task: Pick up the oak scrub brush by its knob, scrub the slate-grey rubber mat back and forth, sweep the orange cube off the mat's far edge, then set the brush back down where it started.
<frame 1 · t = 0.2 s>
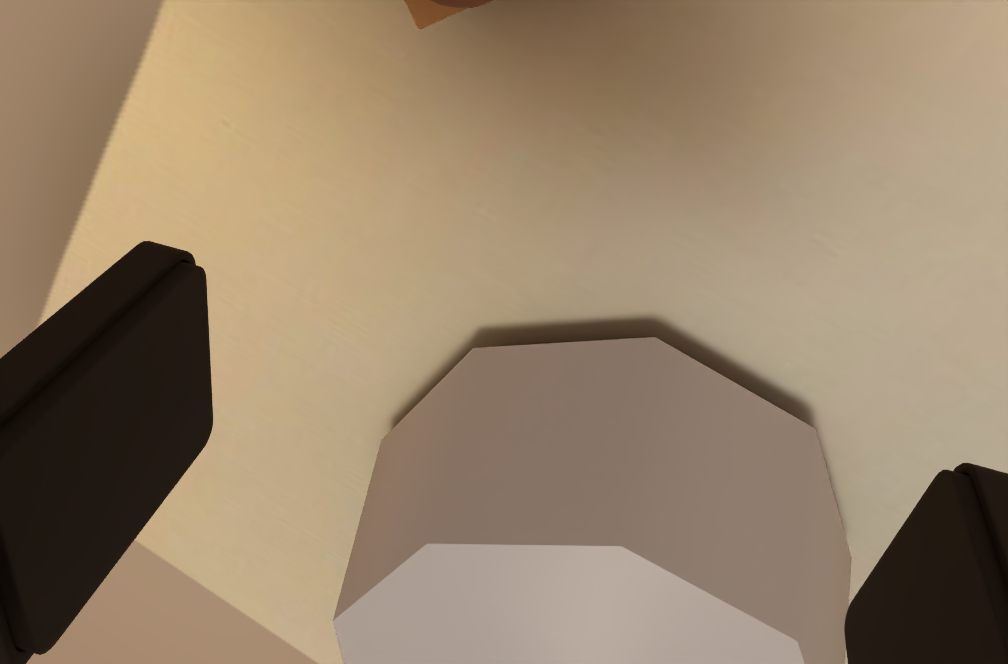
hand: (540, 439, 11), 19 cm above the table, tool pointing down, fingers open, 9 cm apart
bottle: (607, 492, 38), on the table
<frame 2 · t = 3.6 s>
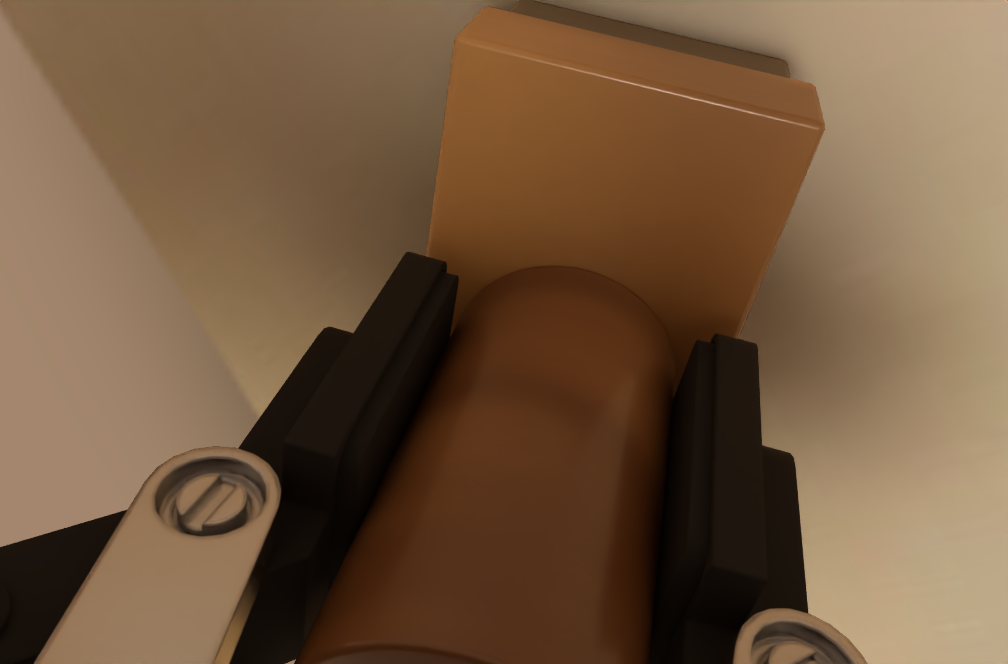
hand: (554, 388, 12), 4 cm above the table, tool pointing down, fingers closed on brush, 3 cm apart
brush: (590, 260, 15), on the table, touching gripper
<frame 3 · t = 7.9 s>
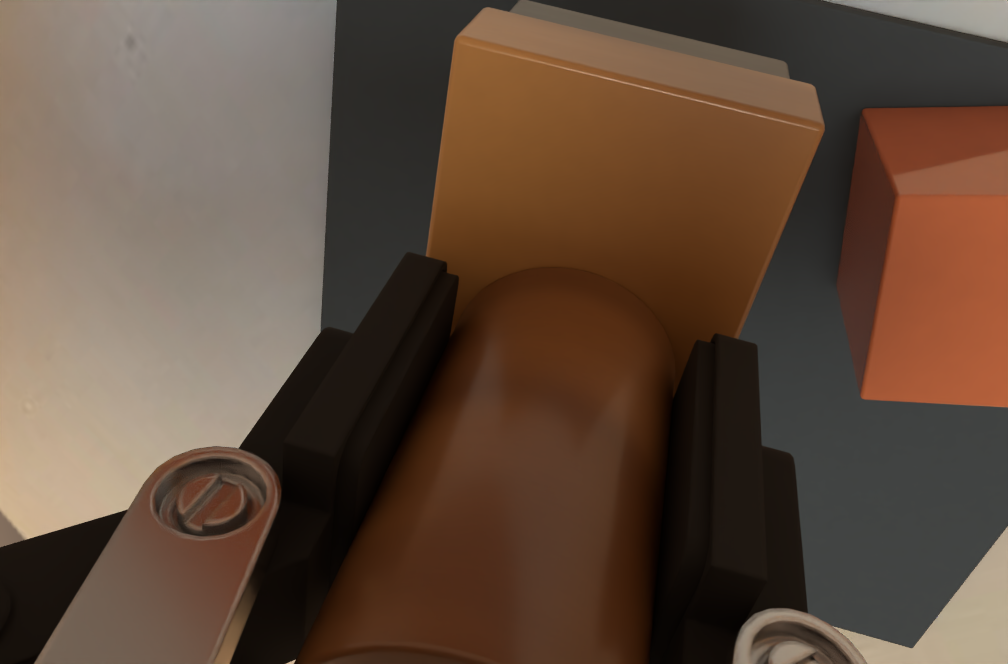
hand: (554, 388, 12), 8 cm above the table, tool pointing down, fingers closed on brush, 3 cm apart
orange cube: (954, 203, 17), resting on mat
brush: (590, 261, 15), point 5 cm above the table, touching gripper
mat: (685, 336, 20), on the table
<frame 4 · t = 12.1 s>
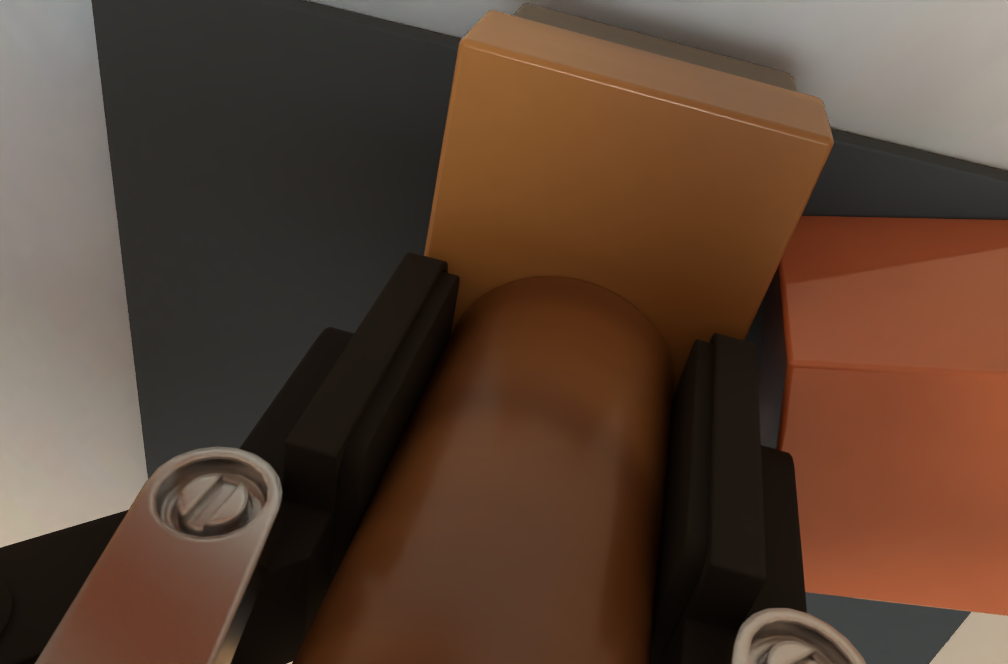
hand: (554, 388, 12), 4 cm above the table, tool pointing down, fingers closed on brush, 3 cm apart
orange cube: (890, 327, 14), resting on mat, touching gripper
brush: (587, 270, 14), point 1 cm above the table, touching gripper
mat: (545, 452, 18), on the table
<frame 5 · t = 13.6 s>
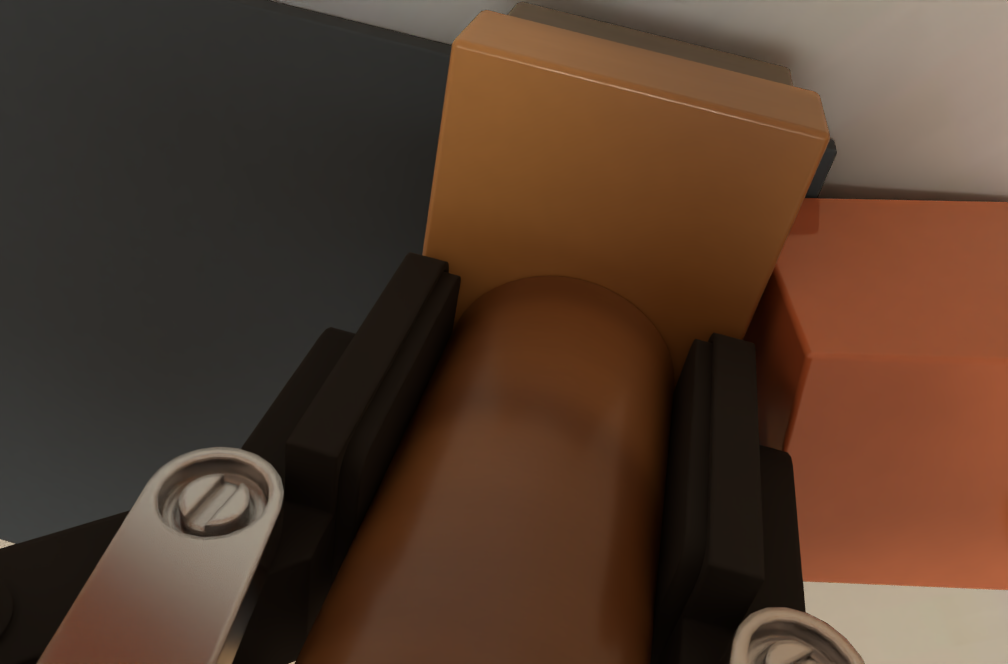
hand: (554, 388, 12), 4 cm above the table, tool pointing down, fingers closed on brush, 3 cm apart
orange cube: (849, 307, 14), on the table, tilted 9°, touching brush, gripper
brush: (587, 268, 14), point 1 cm above the table, touching orange cube, gripper
mat: (271, 381, 18), on the table
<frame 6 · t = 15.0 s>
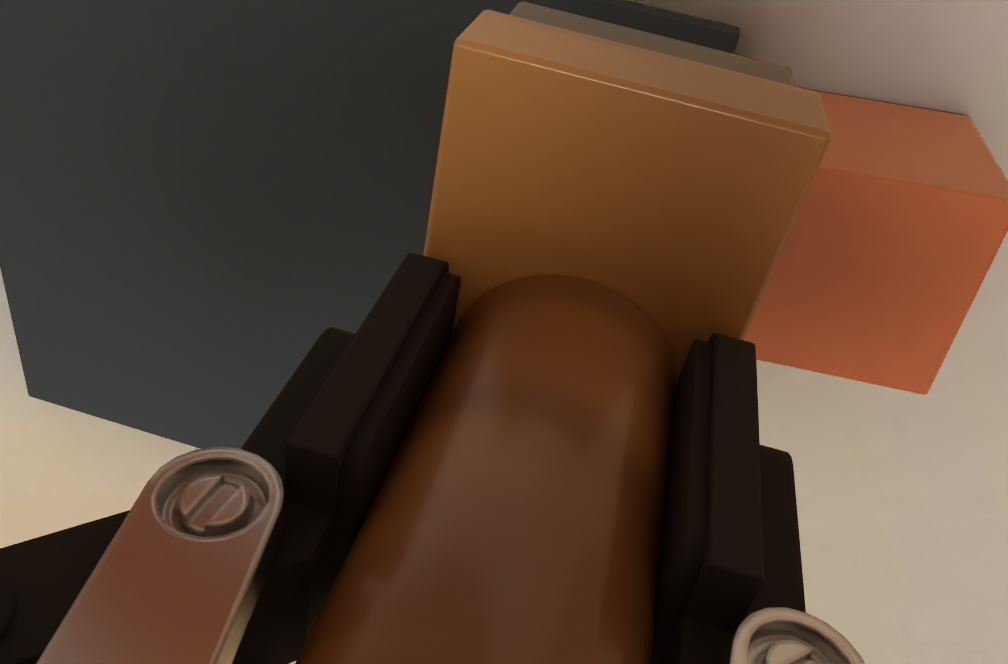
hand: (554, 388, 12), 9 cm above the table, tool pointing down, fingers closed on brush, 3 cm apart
orange cube: (834, 189, 18), on the table
brush: (588, 267, 14), point 5 cm above the table, touching gripper
mat: (301, 252, 22), on the table
when the fingers open (3 cm above the table, at t = 21.1 s): brush stays where it is, on the table.
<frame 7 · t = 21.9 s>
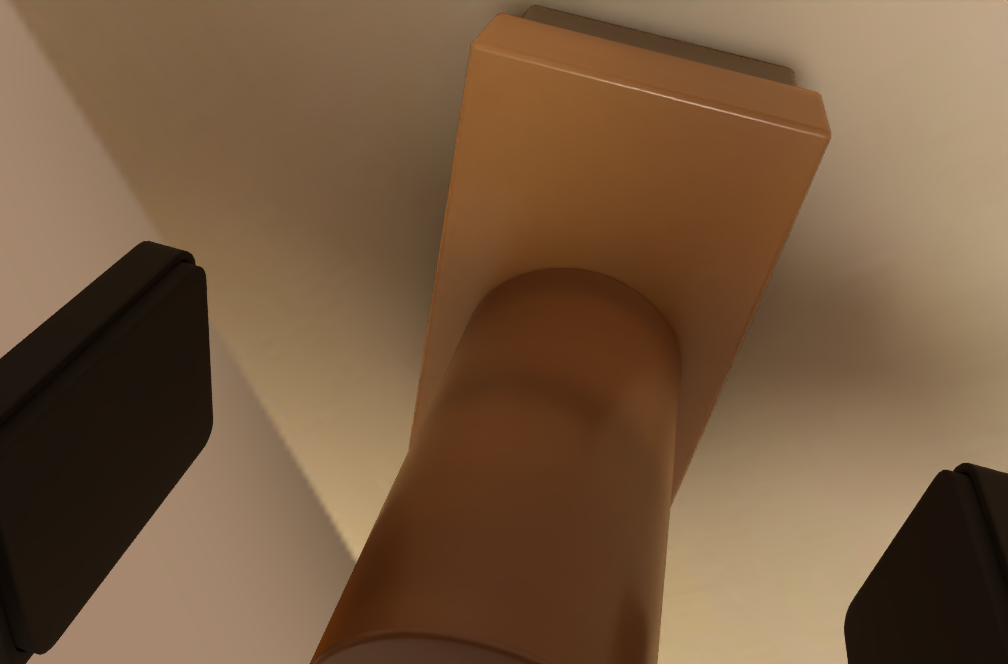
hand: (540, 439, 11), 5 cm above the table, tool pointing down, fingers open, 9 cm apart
brush: (596, 262, 15), on the table
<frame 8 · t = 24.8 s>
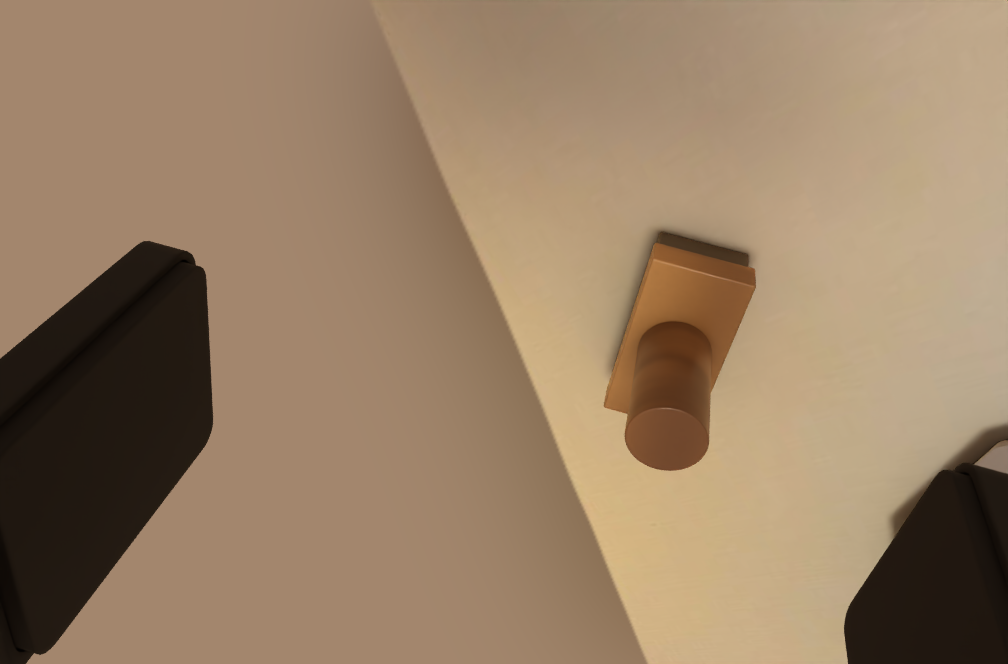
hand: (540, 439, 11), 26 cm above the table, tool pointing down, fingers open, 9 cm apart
brush: (677, 314, 40), on the table
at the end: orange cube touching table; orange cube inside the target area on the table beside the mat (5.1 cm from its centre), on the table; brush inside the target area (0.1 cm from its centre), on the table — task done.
